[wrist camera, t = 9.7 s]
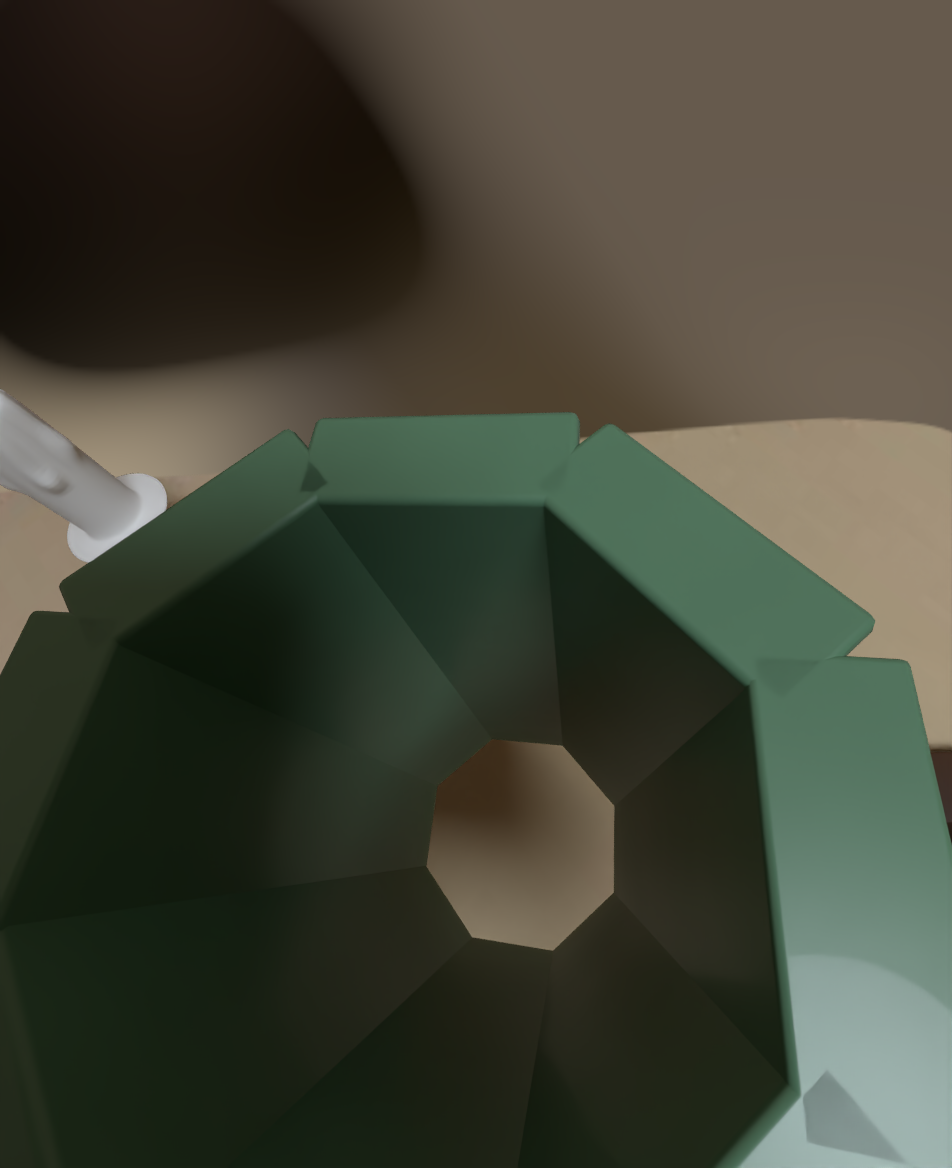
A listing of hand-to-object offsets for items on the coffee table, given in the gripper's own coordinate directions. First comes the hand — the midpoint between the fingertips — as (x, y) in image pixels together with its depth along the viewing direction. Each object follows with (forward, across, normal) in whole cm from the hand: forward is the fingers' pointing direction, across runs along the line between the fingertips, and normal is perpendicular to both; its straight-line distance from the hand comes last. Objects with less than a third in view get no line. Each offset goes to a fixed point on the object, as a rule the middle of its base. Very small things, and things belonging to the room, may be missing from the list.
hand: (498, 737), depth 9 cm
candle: (+16, +19, +3) cm, 25 cm away
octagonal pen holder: (+3, 0, +5) cm, 6 cm away
